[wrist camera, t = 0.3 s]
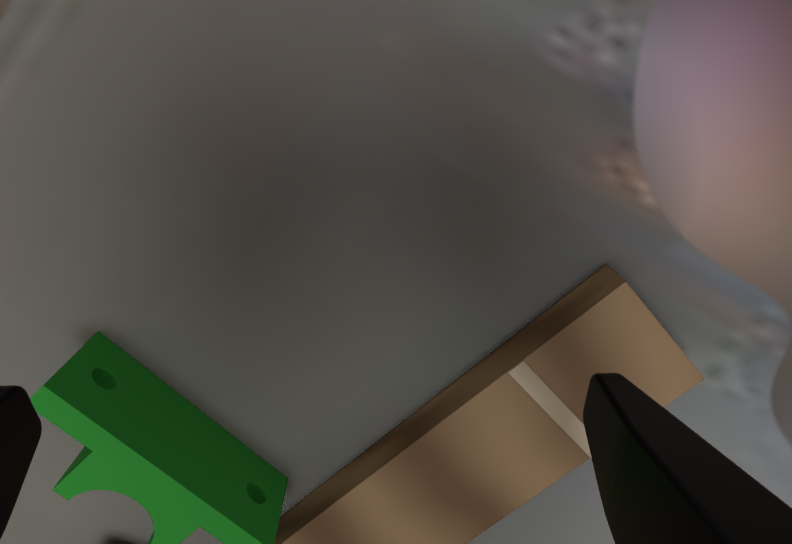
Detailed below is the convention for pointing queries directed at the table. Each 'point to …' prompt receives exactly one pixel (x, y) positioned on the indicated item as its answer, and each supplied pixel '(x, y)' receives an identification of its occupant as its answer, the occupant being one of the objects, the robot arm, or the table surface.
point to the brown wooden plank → (496, 427)
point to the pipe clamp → (158, 450)
